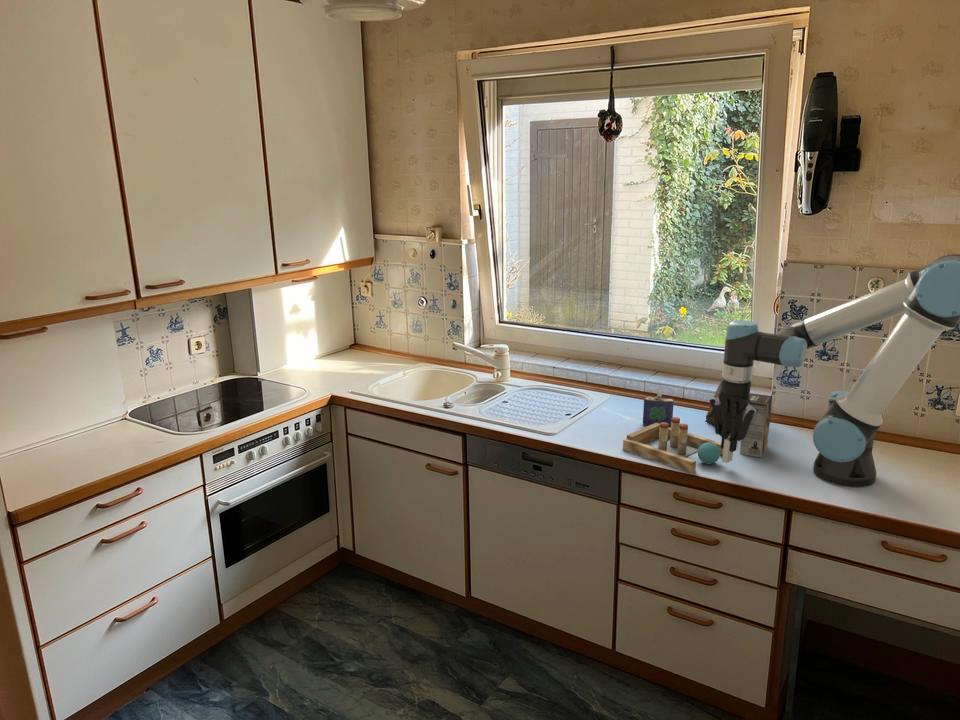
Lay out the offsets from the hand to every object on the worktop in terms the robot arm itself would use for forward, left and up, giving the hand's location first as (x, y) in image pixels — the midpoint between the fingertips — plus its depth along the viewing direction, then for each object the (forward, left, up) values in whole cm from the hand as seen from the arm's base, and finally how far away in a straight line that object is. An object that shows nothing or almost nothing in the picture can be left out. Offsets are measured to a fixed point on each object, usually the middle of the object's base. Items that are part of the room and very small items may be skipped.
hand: (727, 460), depth 200 cm
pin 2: (+19, -3, -2) cm, 19 cm away
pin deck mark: (+17, 0, -2) cm, 17 cm away
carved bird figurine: (+17, -31, -3) cm, 35 cm away
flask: (+32, -15, -3) cm, 35 cm away
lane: (+16, 0, -2) cm, 16 cm away
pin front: (+14, 0, -2) cm, 14 cm away
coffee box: (+1, -18, -3) cm, 18 cm away
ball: (+6, 0, +1) cm, 6 cm away
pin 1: (+19, +3, -2) cm, 19 cm away
